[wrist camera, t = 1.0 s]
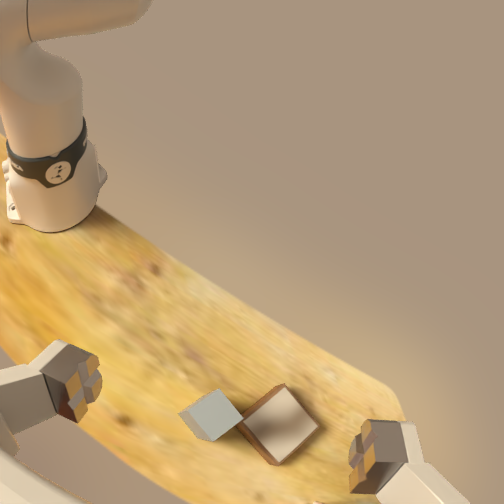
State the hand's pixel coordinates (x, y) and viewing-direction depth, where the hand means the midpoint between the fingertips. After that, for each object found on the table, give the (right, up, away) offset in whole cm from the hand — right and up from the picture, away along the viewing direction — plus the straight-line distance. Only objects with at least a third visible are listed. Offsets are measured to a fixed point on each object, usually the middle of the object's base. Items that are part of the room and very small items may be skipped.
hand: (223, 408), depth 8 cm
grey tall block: (-6, -16, +29) cm, 33 cm away
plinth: (+4, -19, +31) cm, 36 cm away
